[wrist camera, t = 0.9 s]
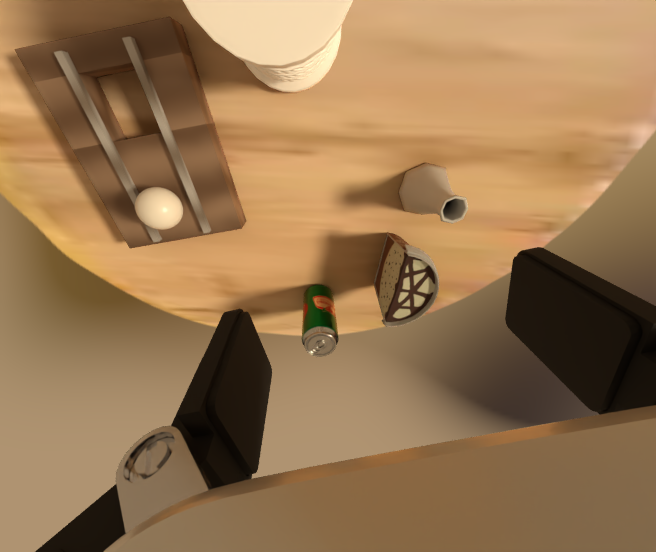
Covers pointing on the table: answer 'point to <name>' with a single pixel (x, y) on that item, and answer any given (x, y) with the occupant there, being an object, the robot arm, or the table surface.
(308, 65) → the decorative container
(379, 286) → the food container
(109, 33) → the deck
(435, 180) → the flask
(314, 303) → the soda can
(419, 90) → the table surface
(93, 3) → the table surface
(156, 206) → the ball
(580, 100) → the table surface
